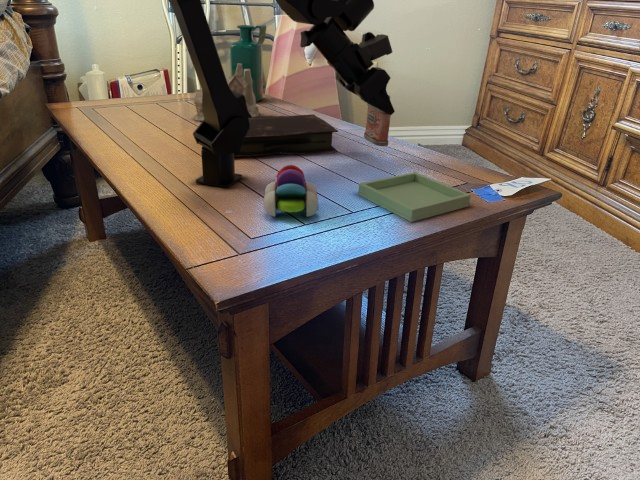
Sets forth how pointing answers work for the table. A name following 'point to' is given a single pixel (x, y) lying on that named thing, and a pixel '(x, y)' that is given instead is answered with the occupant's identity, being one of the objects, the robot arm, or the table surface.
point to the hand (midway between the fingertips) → (385, 108)
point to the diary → (287, 136)
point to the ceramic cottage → (237, 85)
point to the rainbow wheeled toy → (290, 193)
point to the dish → (414, 196)
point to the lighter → (377, 126)
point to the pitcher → (249, 56)
